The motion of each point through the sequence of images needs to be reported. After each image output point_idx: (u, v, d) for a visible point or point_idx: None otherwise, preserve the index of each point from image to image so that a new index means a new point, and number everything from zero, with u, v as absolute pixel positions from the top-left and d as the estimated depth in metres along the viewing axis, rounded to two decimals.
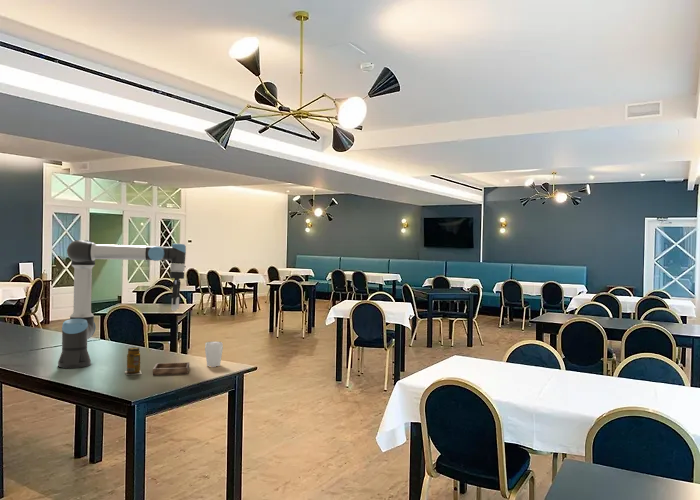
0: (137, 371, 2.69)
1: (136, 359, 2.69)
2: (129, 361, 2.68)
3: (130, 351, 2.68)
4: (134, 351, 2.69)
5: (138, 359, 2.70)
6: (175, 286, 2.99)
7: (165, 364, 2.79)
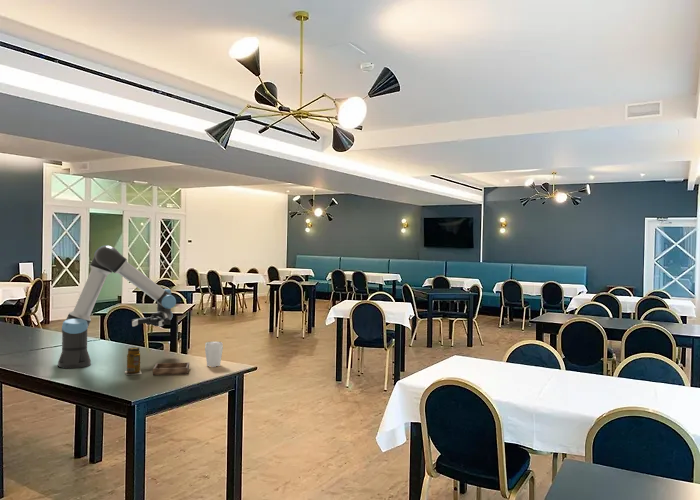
0: (137, 371, 2.69)
1: (136, 359, 2.69)
2: (129, 361, 2.68)
3: (130, 351, 2.68)
4: (134, 351, 2.69)
5: (138, 359, 2.70)
6: None
7: (165, 364, 2.79)
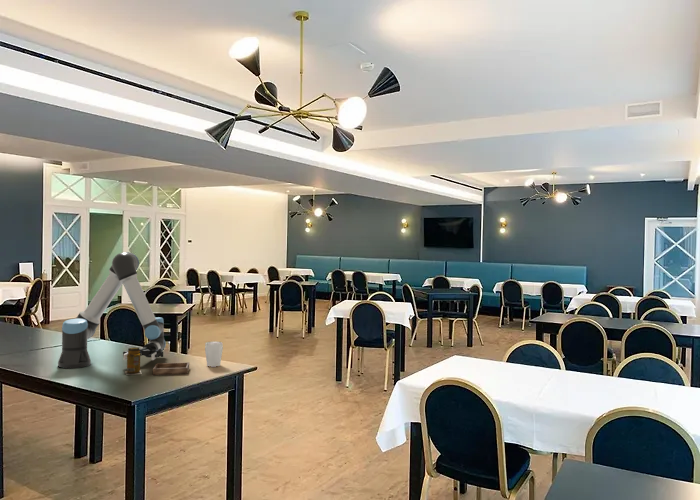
0: (137, 371, 2.69)
1: (136, 359, 2.69)
2: (129, 361, 2.68)
3: (130, 351, 2.68)
4: (134, 351, 2.69)
5: (138, 359, 2.70)
6: None
7: (165, 364, 2.79)
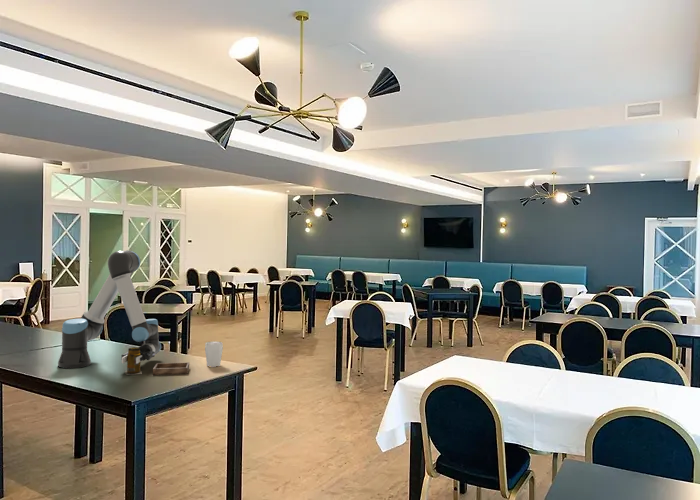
0: (137, 371, 2.69)
1: None
2: (129, 361, 2.68)
3: (130, 351, 2.68)
4: (134, 351, 2.69)
5: None
6: (151, 355, 2.79)
7: (165, 364, 2.79)
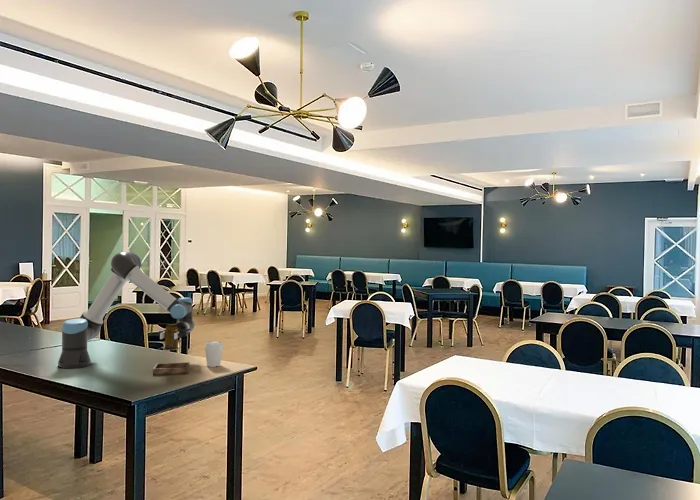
0: (175, 347, 2.73)
1: (173, 335, 2.72)
2: (167, 337, 2.72)
3: (168, 327, 2.72)
4: (172, 327, 2.72)
5: None
6: (188, 332, 2.82)
7: (165, 364, 2.79)
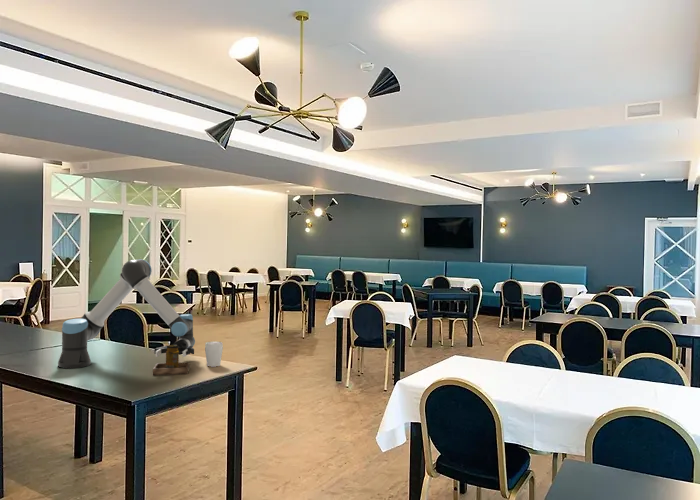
0: None
1: (174, 357, 2.73)
2: (168, 358, 2.72)
3: (169, 348, 2.72)
4: (173, 348, 2.72)
5: (177, 356, 2.74)
6: None
7: (165, 364, 2.79)
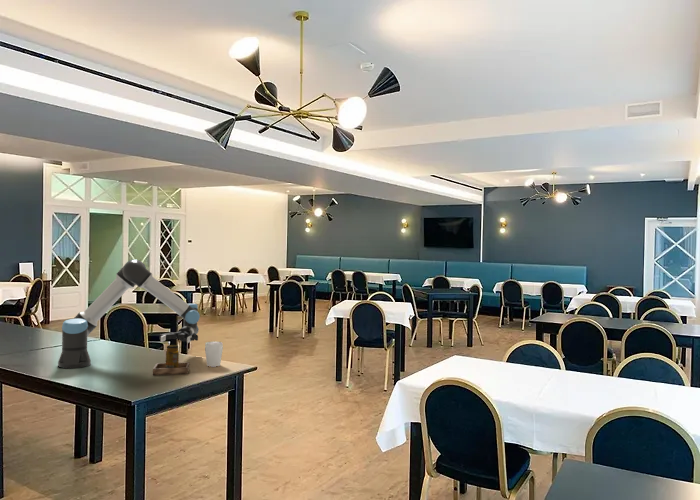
0: None
1: (174, 357, 2.73)
2: (168, 358, 2.72)
3: (169, 348, 2.72)
4: (173, 348, 2.72)
5: (177, 356, 2.74)
6: None
7: (165, 364, 2.79)
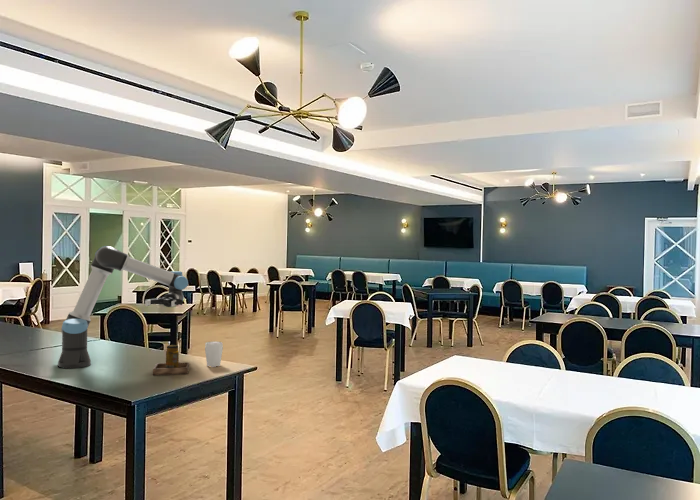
0: None
1: (174, 357, 2.73)
2: (168, 358, 2.72)
3: (169, 348, 2.72)
4: (173, 348, 2.72)
5: (177, 356, 2.74)
6: None
7: (165, 364, 2.79)
